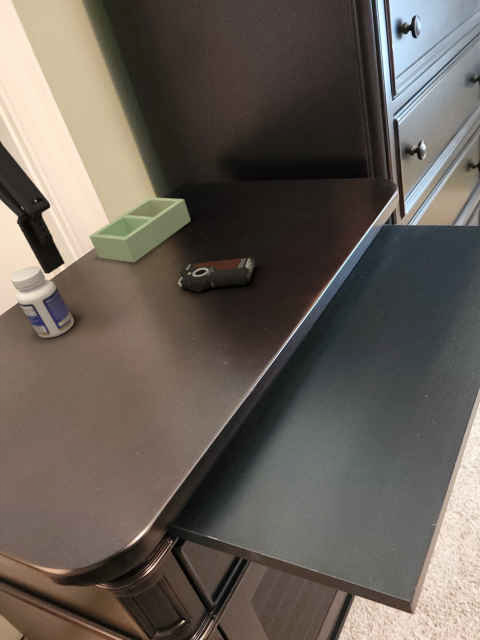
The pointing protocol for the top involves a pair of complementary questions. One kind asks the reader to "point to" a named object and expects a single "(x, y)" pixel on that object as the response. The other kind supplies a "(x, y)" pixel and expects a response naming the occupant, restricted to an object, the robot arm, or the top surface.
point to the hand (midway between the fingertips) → (20, 263)
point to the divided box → (140, 229)
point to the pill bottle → (41, 302)
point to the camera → (216, 274)
